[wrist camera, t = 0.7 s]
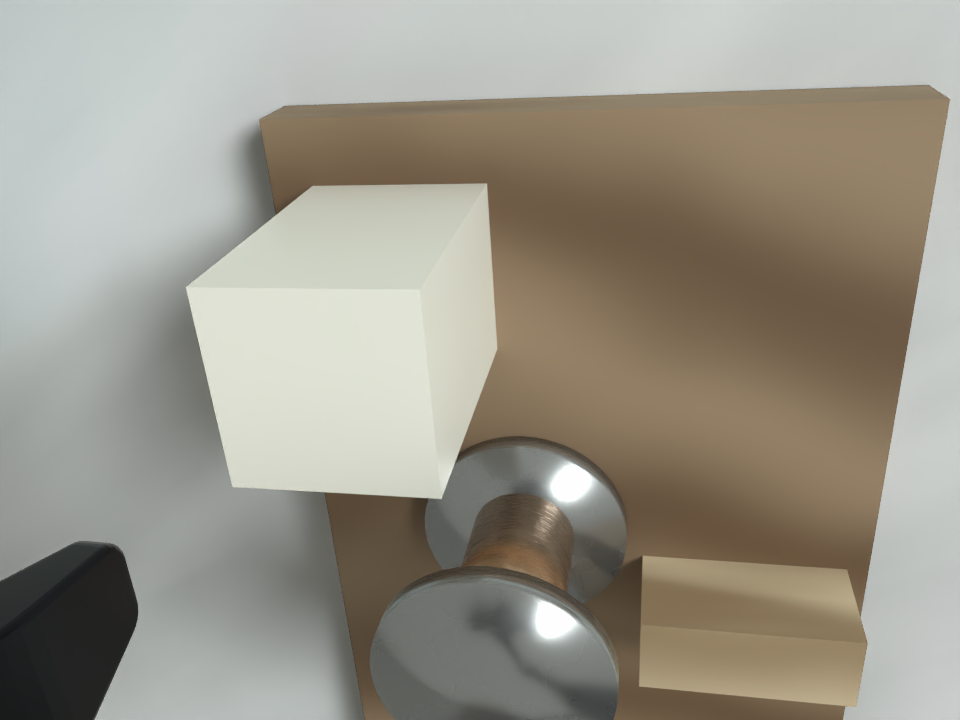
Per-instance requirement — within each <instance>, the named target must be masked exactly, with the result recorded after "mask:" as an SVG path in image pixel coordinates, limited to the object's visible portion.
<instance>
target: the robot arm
mask: <svg viewBox="0 0 960 720" xmlns="http://www.w3.org/2000/svg"><path fill="white" fill-rule="evenodd" d="M137 618H138V604H137V599H136V596H135V592H134V589H133V585H132V582H131V578H130V574H129V571H128V567H127V564H126V560H125V557H124V554H123V552H122V551H121V549H120V548H119V547H118V546H116V545H114V544H110V543H100V542H90V541H79V542H75V543H73V544H71V545H69V546H67V547H65V548H63V549H61V550H59V551H57V552H56V553H54V554H52V555H50V556H48V557H46V558H44V559H42V560H40V561H38V562H36V563H34V564H33V565H31V566H29V567H27V568H25V569H23V570H21V571H19V572H17V573H15V574H13V575H11V576H9V577H8V578H6V579H4V580H2V581H0V720H94V719H95V717H96V715H97V713H98V710H99V708H100V706H101V704H102V701H103V699H104V697H105V695H106V693H107V690H108V688H109V686H110V684H111V681H112V679H113V677H114V675H115V672H116V670H117V668H118V666H119V663H120V661H121V659H122V657H123V654H124V652H125V650H126V648H127V645H128V643H129V641H130V639H131V636H132V634H133V632H134V629H135V627H136V623H137Z"/></svg>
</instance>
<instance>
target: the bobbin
mask: <svg viewBox="0 0 960 720" xmlns="http://www.w3.org/2000/svg"><path fill="white" fill-rule="evenodd" d="M425 531H426V536H427V540H428V543H429V546H430V549H431V551H432V553H433V555H434V557H435V559H436V560H437V562H438V563H439V565H440V566H441V568H442V569H443V570H440V571H438V572H435V573H432V574H429V575H426V576H424V577H422V578H420V579H418V580H416V581H414V582H412V583H411V584H410V585H408V586H407V587H405V588H404V589H403V590H402V591H401V592H399V593H398V594H397V595H396V596H395V597H394V598H393V600H392V601H391V603H390V604H389V605H388V607H387V608H386V610H385V612H384V614H383V616H382V619H381V621H380V624H379V626H378V629H377V631H376V634H375V636H374V639H373V643H372V646H371V651H370V672H371V676H372V680H373V684H374V687H375V689H376V691H377V694H378V696H379V698H380V699H381V701H382V703H383V704H384V706H385V707H386V709H387V710H388V711H389V713H390V714H391V715H392V717H393V718H394V719H395V720H613V719H614V716H615V712H616V709H617V701H618V686H619V665H618V659H617V655H616V651H615V648H614V646H613V643H612V641H611V639H610V637H609V635H608V633H607V632H606V630H605V629H604V627H603V625H602V624H601V623H600V622H599V621H598V619H597V618H596V617H595V616H594V615H593V613H592V612H591V611H589V610H588V609H587V608H586V607H585V606H584V605H583V603H585V602H587V601H589V600H590V599H592V598H594V597H596V596H597V595H598V594H599V593H601V592H602V591H603V590H604V589H606V587H607V586H608V585H609V584H610V583H611V582H612V581H613V580H614V578H615V577H616V575H617V574H618V572H619V570H620V568H621V566H622V563H623V560H624V557H625V553H626V543H627V515H626V511H625V506H624V503H623V501H622V498H621V496H620V494H619V492H618V490H617V489H616V487H615V485H614V484H613V482H612V481H611V480H610V479H609V477H608V476H607V475H606V474H605V473H604V472H603V471H602V470H601V469H600V468H599V467H598V466H597V465H596V464H595V463H593V462H592V461H591V460H590V459H588V458H587V457H585V456H584V455H582V454H580V453H579V452H577V451H575V450H573V449H571V448H569V447H567V446H565V445H562V444H559V443H556V442H553V441H550V440H546V439H541V438H536V437H526V436H508V437H500V438H494V439H490V440H486V441H483V442H480V443H478V444H475V445H473V446H471V447H469V448H467V449H465V450H464V451H462V452H461V453H459V454H458V456H457V459H456V461H455V464H454V467H453V469H452V472H451V475H450V477H449V480H448V483H447V485H446V488H445V491H444V494H443V496H442V499H434V498H429V500H428V503H427V506H426V512H425Z"/></svg>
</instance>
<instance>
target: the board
mask: <svg viewBox="0 0 960 720" xmlns="http://www.w3.org/2000/svg"><path fill="white" fill-rule="evenodd" d="M949 101H950V99H949V98H947V97H946V96H944V95H943V94H941V93H940V92H938V91H937V90H935V89H934V88H932V87H931V86H930V85H914V86H883V87H852V88H821V89H790V90H760V91H729V92H698V93H667V94H636V95H606V96H575V97H544V98H513V99H482V100H452V101H421V102H390V103H359V104H328V105H298V106H284V107H282V108H280V109H278V110H276V111H274V112H273V113H271V114H269V115H267V116H265V117H263V118H261V119H259V121H260V127H261V132H262V138H263V144H264V149H265V155H266V161H267V166H268V172H269V178H270V183H271V189H272V195H273V200H274V206H275V212H276V215H277V214H278V213H279V212H280V211H282V210H283V209H284V208H285V207H287V206H288V205H289V204H290V203H292V202H293V201H294V200H295V199H297V198H298V197H299V196H300V195H302V194H303V193H304V192H305V191H307V190H308V189H309V188H311V187H312V186H339V185H412V184H486V183H487V192H488V208H489V224H490V240H491V256H492V272H493V288H494V304H495V320H496V336H497V351H496V354H495V357H494V359H493V362H492V365H491V367H490V370H489V373H488V375H487V378H486V381H485V383H484V386H483V389H482V392H481V394H480V397H479V400H478V402H477V405H476V408H475V410H474V413H473V416H472V418H471V421H470V424H469V426H468V429H467V432H466V434H465V437H464V440H463V443H462V445H461V448H460V451H459V453H461V452H462V451H464V450H465V449H467V448H469V447H471V446H473V445H475V444H478V443H480V442H483V441H486V440H490V439H494V438H500V437H508V436H526V437H536V438H541V439H546V440H550V441H553V442H556V443H559V444H562V445H565V446H567V447H569V448H571V449H573V450H575V451H577V452H579V453H580V454H582V455H584V456H585V457H587V458H588V459H590V460H591V461H592V462H593V463H595V464H596V465H597V466H598V467H599V468H600V469H601V470H602V471H603V472H604V473H605V474H606V475H607V476H608V477H609V479H610V480H611V481H612V482H613V484H614V485H615V487H616V489H617V490H618V492H619V494H620V496H621V498H622V501H623V503H624V506H625V511H626V515H627V543H626V553H625V557H624V560H623V563H622V566H621V568H620V570H619V572H618V574H617V575H616V577H615V578H614V580H613V581H612V582H611V583H610V584H609V585H608V586H607V587H606V589H604V590H603V591H602V592H601V593H599V594H598V595H597V596H596V597H594V598H592V599H590V600H589V601H587V602H585V603H583V605H584V606H585V607H586V608H587V609H588V610H589V611H591V612H592V613H593V615H594V616H595V617H596V618H597V619H598V621H599V622H600V623H601V624H602V625H603V627H604V629H605V630H606V632H607V633H608V635H609V637H610V639H611V641H612V643H613V646H614V648H615V651H616V655H617V659H618V665H619V686H618V701H617V709H616V712H615V716H614V719H613V720H843V715H844V709H845V706H839V705H829V704H818V703H808V702H797V701H787V700H776V699H766V698H756V697H745V696H735V695H724V694H714V693H703V692H693V691H682V690H672V689H661V688H651V687H640V686H639V671H640V629H641V595H642V562H643V556H654V557H669V558H684V559H699V560H714V561H728V562H743V563H758V564H773V565H788V566H803V567H818V568H833V569H847V571H848V575H849V578H850V582H851V586H852V589H853V593H854V596H855V600H856V604H857V607H858V611H859V614H860V617H861V611H862V605H863V599H864V594H865V588H866V582H867V576H868V570H869V565H870V559H871V553H872V547H873V542H874V536H875V530H876V524H877V518H878V513H879V507H880V501H881V495H882V489H883V484H884V478H885V472H886V466H887V460H888V455H889V449H890V443H891V437H892V432H893V426H894V420H895V414H896V408H897V403H898V397H899V391H900V385H901V379H902V374H903V368H904V362H905V356H906V350H907V345H908V339H909V333H910V327H911V321H912V316H913V310H914V304H915V298H916V293H917V287H918V281H919V275H920V269H921V264H922V258H923V252H924V246H925V240H926V235H927V229H928V223H929V217H930V211H931V206H932V200H933V194H934V188H935V183H936V177H937V171H938V165H939V159H940V154H941V148H942V142H943V136H944V130H945V125H946V119H947V113H948V107H949ZM459 453H458V454H459ZM325 496H326V502H327V507H328V513H329V519H330V524H331V530H332V536H333V541H334V547H335V553H336V559H337V564H338V570H339V576H340V581H341V587H342V593H343V598H344V604H345V610H346V615H347V621H348V627H349V632H350V638H351V644H352V649H353V655H354V661H355V667H356V672H357V678H358V684H359V689H360V695H361V701H362V706H363V712H364V718H365V720H395V719H394V718H393V717H392V715H391V714H390V713H389V711H388V710H387V709H386V707H385V706H384V704H383V703H382V701H381V699H380V698H379V696H378V694H377V691H376V689H375V687H374V684H373V680H372V676H371V672H370V651H371V646H372V643H373V639H374V636H375V634H376V631H377V629H378V626H379V624H380V621H381V619H382V616H383V614H384V612H385V610H386V608H387V607H388V605H389V604H390V603H391V601H392V600H393V598H394V597H395V596H396V595H397V594H398V593H399V592H401V591H402V590H403V589H404V588H405V587H407V586H408V585H410V584H411V583H412V582H414V581H416V580H418V579H420V578H422V577H424V576H426V575H429V574H432V573H435V572H438V571H440V570H443V569H442V568H441V566H440V565H439V563H438V562H437V560H436V559H435V557H434V555H433V553H432V551H431V549H430V546H429V543H428V540H427V536H426V531H425V512H426V506H427V503H428V500H429V498H416V497H399V496H382V495H364V494H347V493H329V492H325Z"/></svg>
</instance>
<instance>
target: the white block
mask: <svg viewBox="0 0 960 720" xmlns="http://www.w3.org/2000/svg"><path fill="white" fill-rule="evenodd" d="M186 290H187V295H188V299H189V303H190V308H191V312H192V316H193V321H194V325H195V329H196V333H197V338H198V342H199V346H200V351H201V355H202V359H203V363H204V368H205V372H206V376H207V381H208V385H209V389H210V393H211V398H212V402H213V406H214V411H215V415H216V419H217V423H218V428H219V432H220V436H221V441H222V445H223V449H224V454H225V458H226V462H227V466H228V471H229V475H230V479H231V484H232V487H242V488H260V489H277V490H294V491H312V492H329V493H347V494H364V495H382V496H399V497H416V498H434V499H442V496H443V494H444V491H445V488H446V485H447V483H448V480H449V477H450V475H451V472H452V469H453V467H454V464H455V461H456V459H457V456H458V453H459V451H460V448H461V445H462V443H463V440H464V437H465V434H466V432H467V429H468V426H469V424H470V421H471V418H472V416H473V413H474V410H475V408H476V405H477V402H478V400H479V397H480V394H481V392H482V389H483V386H484V383H485V381H486V378H487V375H488V373H489V370H490V367H491V365H492V362H493V359H494V357H495V354H496V351H497V336H496V320H495V304H494V288H493V272H492V256H491V240H490V224H489V208H488V192H487V183H486V184H412V185H339V186H312V187H311V188H309V189H308V190H307V191H305V192H304V193H303V194H302V195H300V196H299V197H298V198H297V199H295V200H294V201H293V202H292V203H290V204H289V205H288V206H287V207H285V208H284V209H283V210H282V211H280V212H279V213H278V214H277V215H275V216H274V217H273V218H272V219H270V220H269V221H268V222H267V223H265V224H264V225H263V226H262V227H260V228H259V229H258V230H257V231H255V232H254V233H253V234H252V235H250V236H249V237H248V238H247V239H245V240H244V241H243V242H242V243H240V244H239V245H238V246H237V247H235V248H234V249H233V250H232V251H230V252H229V253H228V254H227V255H225V256H224V257H223V258H222V259H220V260H219V261H218V262H217V263H215V264H214V265H213V266H212V267H210V268H209V269H208V270H207V271H205V272H204V273H203V274H202V275H200V276H199V277H198V278H197V279H195V280H194V281H193V282H192V283H190V284H189V285H188V286H187V287H186Z"/></svg>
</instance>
